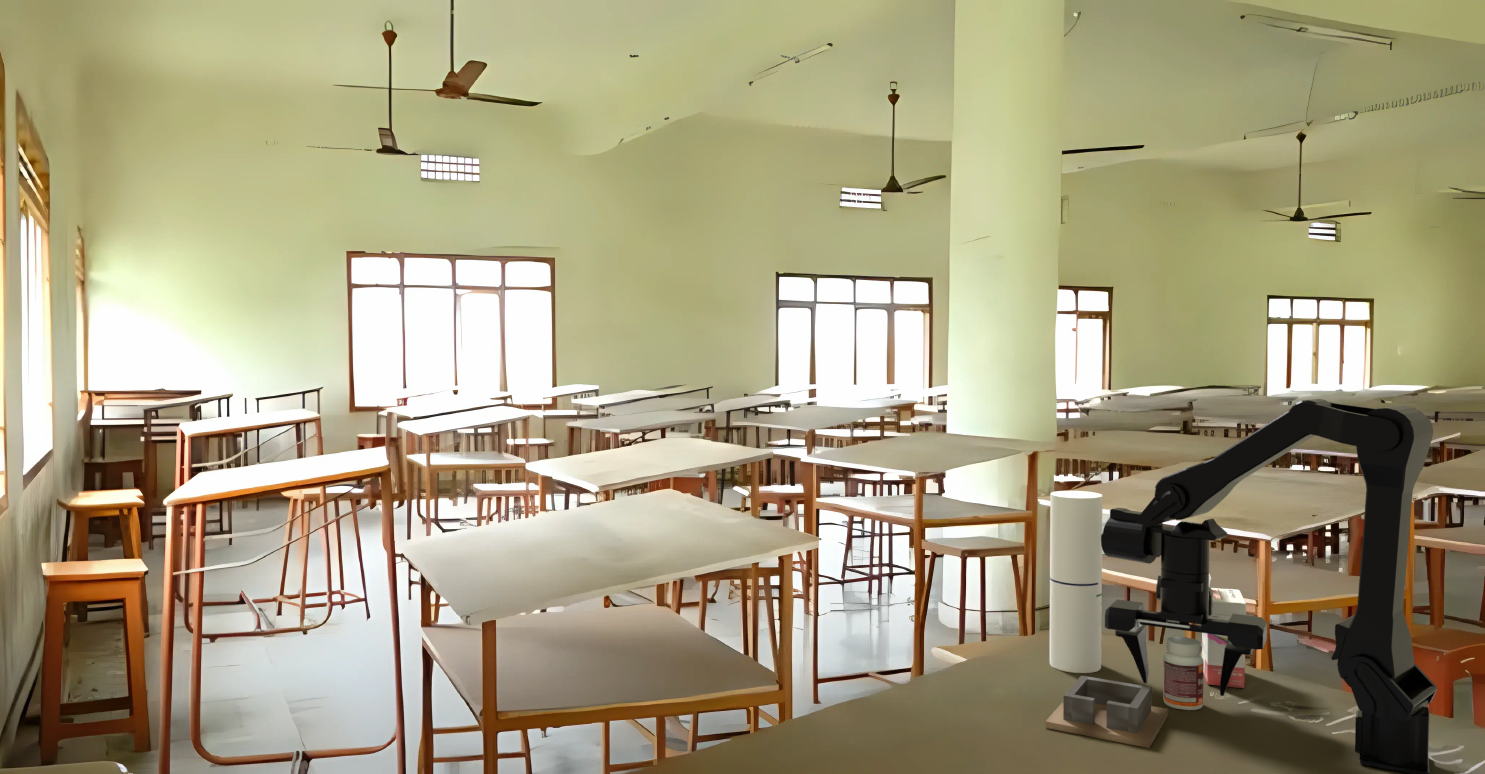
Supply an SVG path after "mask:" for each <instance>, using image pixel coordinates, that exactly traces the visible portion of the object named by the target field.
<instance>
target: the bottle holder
mask: <svg viewBox="0 0 1485 774" xmlns="http://www.w3.org/2000/svg"><path fill="white" fill-rule="evenodd" d="M1168 716H1169V709H1168V708H1164V707H1159V706H1154V705H1152V686H1146V685H1141V684H1134V683H1129V682H1123V681H1122V682H1121V681H1118V680H1110V679H1106V678H1105V679H1104V678H1099V677H1098V678H1097V677H1092V676H1086V675H1080V676H1079V677H1078V678H1077V680H1076V681H1075V682H1074V683H1073V684H1072V685H1071V687H1070V688H1069V689H1068V690H1067V691H1066V692H1065V693H1064V694H1063V700H1062V702H1061V703H1060V705H1058V706H1057V707H1056V709H1055V710H1054V711H1053V712H1052V713H1051V714H1050V715H1049V717H1048V718H1047V719H1046V720H1045V728H1046V729H1051V730H1053V731H1054V730H1055V731H1059V732H1066V733H1070V734H1076V735H1081V736H1085V737H1091V738H1097V739H1100V740H1107V741H1111V742H1116V743H1117V742H1118V743H1122V744H1126V745H1131V746H1136V747H1137V746H1138V747H1142V748H1148V749H1150V748H1151V746H1152V744H1153V743H1154V740H1155V739H1156V737H1157V735H1158V734H1159V731H1160V730H1161V728H1162V726H1163V725H1164V723H1165V721H1166V720H1167V718H1168Z"/></svg>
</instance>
